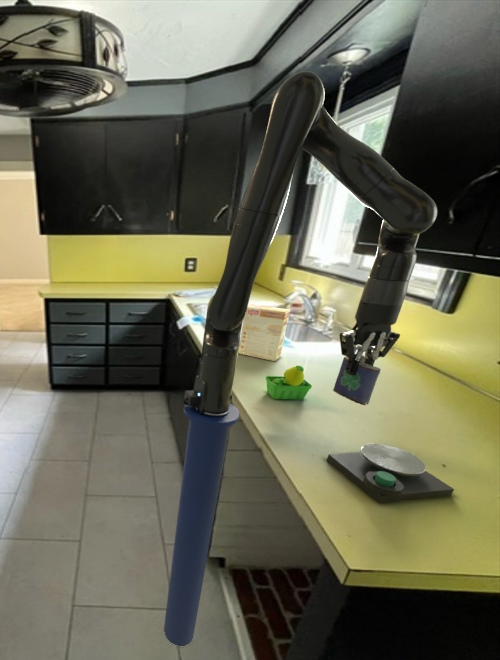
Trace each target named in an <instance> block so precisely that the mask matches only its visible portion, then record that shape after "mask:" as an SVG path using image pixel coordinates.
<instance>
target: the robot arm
mask: <svg viewBox="0 0 500 660" xmlns="http://www.w3.org/2000/svg"><path fill="white" fill-rule="evenodd" d="M324 101H325V88H324V84H323V81H322V80H321V78H320V77H319V76H318V75H317V74H316V72H313V71H310V70H302V71H299V72H296V73H295V74H292V75H291V76H289V78H287V79H285V81H284V82H283V83H282V84H281V85H280V87H279V88H278V89H277V91H276V92H275V94H274V96H273V99H272V102H271V106H270V111H269V116H268V122H267V125H266V130H265V135H264V139H263V142H262V146H261V149H260V153H259V156H258V159H257V161H256V164H255V167H254V169H253V171H252V173H251V176H250V179H249V181H248V183H247V186H246V188H245V191H244V194H243V197H242V199H241V202H240V205H239V208H238V210H237V214H236V217H235V220H234V222H233V226H232V229H231V234H230V239H229V243H228V248H227V254H226V260H225V264H224V269H223V272H222V276H221V277H220V280H219V283H218V285H217V287H216V290H215V291H214V292H215V293H214V294H213V295H212V296H211V297H210V299H209V301H208V302H207V306H206V307H207V309H206V314H205V315H206V316H205V325H204V331H203V332H204V333H203V339H202V347H201V356H200V363H199V370H198V375H196V376H195V379H194V386H193V387H194V388H193V389H192V390H184V398H183V400H182V403H183V405H187V406H193V407H194V408H195V410H196V411H197V412H198V413H199V415H205V416H210V417H223V416H226V415H227V414H228V413H229V406H230V404H231V401H232V400H233V395H232V393H233V387H234V381H235V377H236V376H235V375H236V369H237V364H238V359H239V358H238V357H239V354H238V352H239V346H240V338H241V332H242V326H243V320H244V318H245V316H246V312H247V307H248V306H249V303H250V298H251V295H252V291H253V287H254V284H255V281H256V278H257V275H258V273H259V271H260V268H261V267H262V264H263V263H264V260H265V258H266V256H267V254H268V251H269V249H270V246H271V244H272V243H273V240H274V237H275V235H276V233H277V230H278V227H279V224H280V222H281V219H282V216H283V213H284V209H285V207H286V204H287V200H288V196H289V192H290V189H291V184H292V181H293V175H294V172H295V167H296V164H297V161H298V159H299V156H300V153H301V152H302V151H301V150H304V151H305V152H306V153H307V154H309V155H310V156H312V157H313V158H314V159H315V160H316V161H317V162H319V163H320V164H321V165H322V166H323V167H324V168H325V169H326V170H327V172H329V173H330V174H331V175H332V176H333V177H334V178H335V179H336V180H337V181H338V182H339V183H340V185H342V186H343V187H344V188H345V189H346V190H347V191H348V192H349V193H350V194H351V195H352V196H353V197H354V198H355V199H356V200H357V201H359V202H360V204H362V205H363V206H365V207H367V208H370V209H371V210H373V211H374V212H375V213H376V214H377V215H378V216H379V217H380V218H381V219H383V220H382V223H381V227H380V231H379V236H378V240H377V241H378V242H377V247H376V248H377V249H376V253H375V257H374V259H373V262H372V265H371V268H370V270H369V271H370V272H369V274H368V277H367V280H366V283H365V284H364V287H363V290H362V293H361V295H360V299H359V302H358V307H357V309H356V312H355V316H354V319H355V321H356V322H355V324H354V325H353V326H352V328H351V330H350V331H347V332H344V331H341V332H340V333H339V344H340V352H341V353H340V354H341V356H344V357H348V362H347V365H346V369H345V370H346V373H347V374H349V375H356V372H357V369H358V366H359V363H360V361H359V360H360V358H361V356H362V355H363V354H364V356H367V357H368V358H367V359H365V360H366V361H365V362H364V363H366V364H369V365H371V366H375V361H377V360H378V359H379V358H385V357H386V356H387V355H388V353H389V352H390V350H391V349H392V348H393V347H394V346H395V344H396V342H397V341H398V340H399V339H400V337H401V334H400V333H398V332H395V331H393V330H392V325H395V324H396V323H397V320H398V318H399V315H400V312H401V310H402V307H403V304H404V301H405V298H406V296H407V293H408V289H409V283H410V280H411V277H412V274H413V272H414V269H415V266H416V263H417V259H418V256H417V254H418V253H417V252H416V247H417V243H418V241H419V237H420V234H422V233H424V232H426V231H427V230H428V229H430V228H431V227H432V226H433V224H434V223H435V221H436V219H437V217H438V206H437V204H436V203H435V201H434V199H432V197H430V195H428V194H427V193H426V192H425V191H424V190H422V189H421V188H419V187H418V186H416V185H415V184H414V183H412V182H410V181H409V180H407V179H405V178H404V177H403V176H402V175H401V174H400V173H399V172H398V171H397V170H396V169H395V168H394V166H392V165H391V164H390V163H389V162H388V161H387V160H386V159H385V158H384V157H383V156H382V155H381V154H380V153H378V152H377V151H376V150H375V149H373V148H372V147H370V146H369V145H368V144H366V143H364V141H363V142H362V141H361V140H359V139H358V138H356V137H354V136H352V135H351V134H350V133H348V132H347V131H345V130H344V129H343V128H342V127H340V126H339V125H338V124H337V123H336V121H334V119H333V118H332V117H331V115H330V114H329V113H328V112H327V110H326V108H325V106H324Z"/></svg>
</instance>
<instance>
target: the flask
mask: <svg viewBox="0 0 500 660" xmlns="http://www.w3.org/2000/svg"><path fill="white" fill-rule="evenodd" d="M367 358H368V357H367V356H365V355H363V354H362V356H361V358H360V360H359V361H360V363H359V366H358V369H357V372H356V375H349V374H347V373H346V370H345V369H346V365H347V362H348V357H347V356H344V357H343V359H342V362H341V366H340V368H339V371H338V375H337V378H336V380H335V383H334V387H333V389H332V391H333V392H334V393H336V394H337V395H339V396H341V397H342V398H343V397H344V398H346V399H347V400H349V401H351V402H353V403H356V404H359V405H361V406H367V405H369V404H370V401H371V397H372V395H373V392H374V389H375V386H376V384H377V380H378V377H379V376H380V374H381V368H380V367H377V366H375V365H373V366H371V365H369V364H366V363H364V362H365V361H366V360H365V359H367Z"/></svg>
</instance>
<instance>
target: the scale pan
mask: <svg viewBox="0 0 500 660" xmlns="http://www.w3.org/2000/svg"><path fill="white" fill-rule="evenodd" d="M360 452H361V455H362V456H363V457H364V458H365V459H366V460H367V461H368V462H370V463H371V464H373V465H374V466H376V467H378V468H380V469H383V470H385V471H388V472H391V473H395V474H399V475H404V476H419V475H422V474H423V473H424V472H425V471H427V466H426V464H425V463H424V461H423V460H422V459H420V458H419V457H418V456H417V455H415V454H413V453H412V452H410V451H407V450H404V449H402V448H400V447H396V446H394V445H389V444H385V443H375V442H373V443H366V444H364V445H362V446H361V448H360Z"/></svg>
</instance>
